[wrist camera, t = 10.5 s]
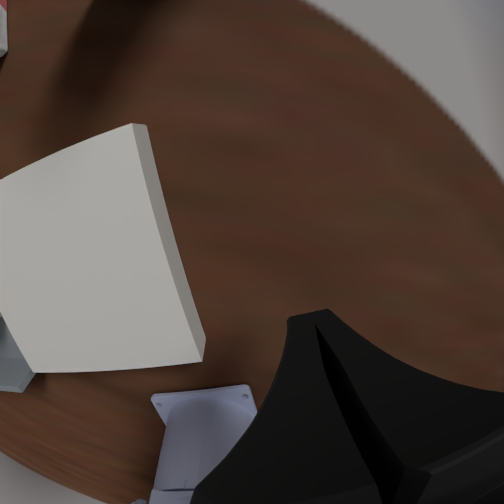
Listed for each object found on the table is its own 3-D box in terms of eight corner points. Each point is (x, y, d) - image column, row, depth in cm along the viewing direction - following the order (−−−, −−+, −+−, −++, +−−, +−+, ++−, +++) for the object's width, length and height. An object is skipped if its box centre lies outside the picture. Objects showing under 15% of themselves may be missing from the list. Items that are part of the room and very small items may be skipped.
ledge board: (205, 338, 21) (202, 361, 18) (46, 354, 21) (33, 372, 19) (146, 125, 16) (131, 123, 14) (-18, 195, 17) (-39, 202, 14)
